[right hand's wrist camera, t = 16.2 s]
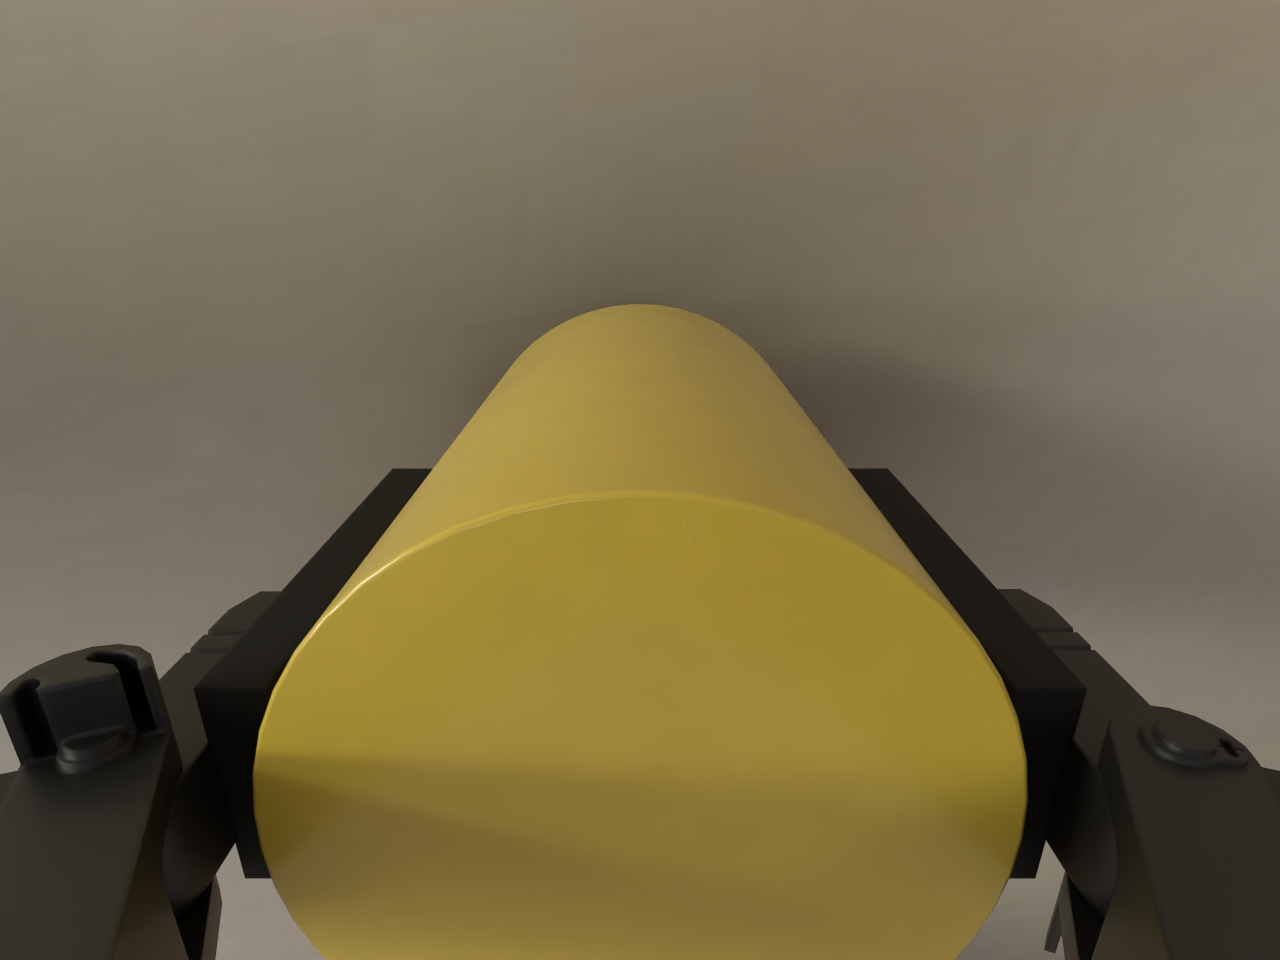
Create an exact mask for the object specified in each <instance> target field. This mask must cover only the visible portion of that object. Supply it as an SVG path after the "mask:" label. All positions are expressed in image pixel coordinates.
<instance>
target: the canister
mask: <svg viewBox="0 0 1280 960" xmlns="http://www.w3.org/2000/svg"><path fill="white" fill-rule="evenodd" d="M253 800H254V816H255V821H256V826H257V831H258V836H259V841H260V846H261V851H262V854H263V856H264V859H265V862H266V864H267V867H268V870H269V872H270V875H271V878H272V880H273V883H274V886H275V888H276V889H277V891H278V893H279V895H280V897H281V898H282V900H283V902H284V904H285V906H286V907H287V909H288V911H289V913H290V914H291V916H292V918H293V920H294V921H295V922H296V924H297V925H298V926H299V928H300V929H301V930H302V932H303V933H304V934H305V936H306V937H307V938H308V940H309V941H310V942H311V943H312V945H313V946H314V947H315V949H316V950H317V951H318V952H319V953H320V954H321V955H322V956H323V957H324V958H325V959H326V960H955V959H956V958H957V956H958V955H959V954H960V953H961V952H962V951H963V950H964V949H965V948H966V947H967V945H968V944H969V943H970V942H971V941H972V940H973V938H974V937H975V935H976V934H977V933H978V931H979V930H980V928H981V927H982V925H983V924H984V922H985V921H986V920H987V918H988V917H989V915H990V914H991V912H992V911H993V909H994V908H995V906H996V904H997V902H998V900H999V898H1000V896H1001V894H1002V892H1003V890H1004V888H1005V886H1006V884H1007V882H1008V880H1009V878H1010V876H1011V873H1012V869H1013V866H1014V863H1015V860H1016V857H1017V854H1018V851H1019V847H1020V844H1021V841H1022V837H1023V830H1024V823H1025V816H1026V809H1027V802H1028V791H1027V761H1026V754H1025V749H1024V745H1023V740H1022V735H1021V730H1020V726H1019V721H1018V717H1017V714H1016V712H1015V709H1014V707H1013V704H1012V702H1011V699H1010V697H1009V694H1008V692H1007V690H1006V687H1005V685H1004V682H1003V680H1002V677H1001V676H1000V674H999V672H998V671H997V669H996V668H995V666H994V664H993V663H992V661H991V660H990V658H989V656H988V655H987V653H986V652H985V650H984V648H983V647H982V645H981V643H980V642H979V640H978V639H977V637H976V636H975V635H974V633H973V632H972V631H971V630H970V628H969V627H968V626H967V624H966V623H965V622H964V620H963V619H962V618H961V616H960V615H959V614H958V612H957V611H956V610H955V609H954V607H953V606H952V605H951V603H950V602H949V601H948V599H947V598H946V597H945V595H944V594H943V593H942V592H941V590H940V589H939V588H938V586H937V585H936V584H935V582H934V581H933V580H932V578H931V577H930V576H929V574H928V573H927V572H926V571H925V569H924V568H923V567H922V565H921V564H920V563H919V561H918V560H917V559H916V557H915V556H914V555H913V554H912V552H911V551H910V550H909V548H908V547H907V546H906V544H905V543H904V542H903V540H902V539H901V538H900V536H899V535H898V534H897V533H896V531H895V530H894V529H893V527H892V526H891V525H890V523H889V522H888V521H887V519H886V518H885V517H884V516H883V514H882V513H881V512H880V510H879V509H878V508H877V506H876V505H875V504H874V502H873V501H872V500H871V498H870V497H869V496H868V495H867V493H866V492H865V491H864V489H863V488H862V487H861V485H860V484H859V483H858V481H857V480H856V479H855V478H854V476H853V475H852V474H851V472H850V471H849V470H848V468H847V467H846V466H845V464H844V463H843V462H842V460H841V459H840V458H839V457H838V455H837V454H836V453H835V451H834V450H833V449H832V447H831V446H830V445H829V443H828V442H827V441H826V440H825V438H824V437H823V436H822V434H821V433H820V432H819V430H818V429H817V428H816V426H815V425H814V424H813V422H812V421H811V420H810V419H809V417H808V416H807V415H806V413H805V412H804V411H803V409H802V408H801V407H800V405H799V404H798V403H797V402H796V400H795V399H794V398H793V396H792V395H791V394H790V392H789V391H788V390H787V388H786V387H785V386H784V384H783V383H782V382H781V381H780V379H779V378H778V377H777V375H776V374H775V373H774V371H773V370H772V369H771V368H770V366H769V365H768V364H767V363H766V362H765V361H764V359H763V358H762V357H761V356H760V355H759V354H758V352H757V351H756V350H754V349H753V348H752V347H751V346H750V345H749V344H748V343H746V342H745V341H744V340H743V339H742V338H741V337H739V336H738V335H736V334H735V333H733V332H732V331H730V330H729V329H727V328H726V327H724V326H723V325H721V324H718V323H716V322H714V321H712V320H710V319H708V318H706V317H704V316H701V315H698V314H695V313H692V312H689V311H686V310H683V309H679V308H673V307H668V306H662V305H649V304H630V305H619V306H611V307H607V308H603V309H598V310H594V311H590V312H588V313H585V314H582V315H580V316H577V317H574V318H572V319H570V320H568V321H566V322H564V323H562V324H560V325H558V326H556V327H555V328H553V329H551V330H550V331H548V332H547V333H546V334H544V335H543V336H541V337H540V338H539V339H537V340H536V341H535V342H533V343H532V344H531V345H530V346H529V347H528V348H527V349H526V350H525V351H524V352H523V353H522V354H521V355H520V356H519V357H518V358H517V359H516V361H515V362H514V363H513V365H512V366H511V367H510V368H509V370H508V371H507V372H506V373H505V375H504V376H503V377H502V379H501V380H500V381H499V383H498V384H497V385H496V387H495V388H494V389H493V391H492V392H491V393H490V394H489V396H488V397H487V398H486V400H485V401H484V402H483V404H482V405H481V406H480V408H479V409H478V410H477V412H476V413H475V414H474V416H473V417H472V418H471V419H470V421H469V422H468V423H467V425H466V426H465V427H464V429H463V430H462V431H461V433H460V434H459V435H458V437H457V438H456V439H455V441H454V442H453V443H452V444H451V446H450V447H449V448H448V450H447V451H446V452H445V454H444V455H443V456H442V458H441V459H440V460H439V462H438V463H437V464H436V466H435V467H434V468H433V469H432V471H431V472H430V473H429V475H428V476H427V477H426V479H425V480H424V481H423V483H422V484H421V485H420V487H419V488H418V489H417V490H416V492H415V493H414V494H413V496H412V497H411V498H410V500H409V501H408V502H407V504H406V505H405V506H404V508H403V509H402V510H401V512H400V513H399V514H398V515H397V517H396V518H395V519H394V521H393V522H392V523H391V525H390V526H389V527H388V529H387V530H386V531H385V533H384V534H383V535H382V537H381V538H380V539H379V540H378V542H377V543H376V544H375V546H374V547H373V548H372V550H371V551H370V552H369V554H368V555H367V556H366V558H365V559H364V560H363V561H362V563H361V564H360V565H359V567H358V568H357V569H356V571H355V572H354V573H353V575H352V576H351V577H350V579H349V580H348V581H347V583H346V584H345V585H344V586H343V588H342V589H341V590H340V592H339V593H338V594H337V596H336V597H335V598H334V600H333V601H332V602H331V604H330V605H329V606H328V608H327V609H326V610H325V611H324V613H323V614H322V615H321V617H320V618H319V619H318V621H317V622H316V623H315V625H314V626H313V627H312V629H311V630H310V631H309V633H308V634H307V635H306V636H305V638H304V639H303V640H302V642H301V643H300V644H299V646H298V647H297V648H296V650H295V651H294V653H293V654H292V656H291V658H290V660H289V662H288V664H287V665H286V667H285V669H284V671H283V673H282V675H281V676H280V678H279V680H278V682H277V684H276V685H275V687H274V689H273V691H272V694H271V697H270V700H269V703H268V706H267V709H266V712H265V715H264V718H263V721H262V724H261V727H260V730H259V735H258V742H257V748H256V755H255V761H254V768H253Z"/></svg>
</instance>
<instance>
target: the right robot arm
mask: <svg viewBox="0 0 1280 960" xmlns="http://www.w3.org/2000/svg"><path fill="white" fill-rule="evenodd" d="M848 470H849V471H850V472H851V474H852V475H853V476H854V478H855V479H856V480H857V481H858V483H859V484H860V485H861V487H862V488H863V489H864V491H865V492H866V493H867V495H868V496H869V497H870V498H871V500H872V501H873V502H874V504H875V505H876V506H877V508H878V509H879V510H880V512H881V513H882V514H883V516H884V517H885V518H886V519H887V521H888V522H889V523H890V525H891V526H892V527H893V529H894V530H895V531H896V533H897V534H898V535H899V536H900V538H901V539H902V540H903V542H904V543H905V544H906V546H907V547H908V548H909V550H910V551H911V552H912V554H913V555H914V556H915V557H916V559H917V560H918V561H919V563H920V564H921V565H922V567H923V568H924V569H925V571H926V572H927V573H928V574H929V576H930V577H931V578H932V580H933V581H934V582H935V584H936V585H937V586H938V588H939V589H940V590H941V592H942V593H943V594H944V595H945V597H946V598H947V599H948V601H949V602H950V603H951V605H952V606H953V607H954V609H955V610H956V611H957V612H958V614H959V615H960V616H961V618H962V619H963V620H964V622H965V623H966V624H967V626H968V627H969V628H970V630H971V631H972V632H973V633H974V635H975V636H976V637H977V639H978V640H979V642H980V643H981V645H982V647H983V648H984V650H985V652H986V653H987V655H988V656H989V658H990V660H991V661H992V663H993V664H994V666H995V668H996V669H997V671H998V672H999V674H1000V676H1001V677H1002V680H1003V682H1004V685H1005V687H1006V690H1007V692H1008V694H1009V697H1010V699H1011V702H1012V704H1013V707H1014V709H1015V712H1016V714H1017V717H1018V721H1019V726H1020V730H1021V735H1022V740H1023V745H1024V749H1025V754H1026V761H1027V791H1028V802H1027V809H1026V816H1025V823H1024V830H1023V837H1022V841H1021V844H1020V847H1019V851H1018V854H1017V857H1016V860H1015V863H1014V866H1013V869H1012V873H1011V876H1010V878H1035V877H1036V874H1037V870H1038V866H1039V863H1040V859H1041V856H1042V852H1043V848H1044V845H1045V841H1047V842H1048V844H1049V846H1050V847H1051V849H1052V850H1053V852H1054V853H1055V855H1056V857H1057V858H1058V860H1059V861H1060V863H1061V865H1062V866H1063V868H1064V869H1065V874H1064V877H1063V881H1062V884H1061V888H1060V891H1059V894H1058V898H1057V901H1056V905H1055V908H1054V911H1053V915H1052V918H1051V922H1050V925H1049V928H1048V932H1047V936H1046V942H1045V948H1044V950H1046V951H1049V952H1052V953H1055V952H1056V949H1057V945H1058V942H1059V939H1060V937H1061V936H1062V939H1063V947H1064V955H1065V960H1280V771H1277V770H1272V769H1267V768H1263V767H1261V766H1260V764H1259V763H1258V761H1257V760H1256V759H1255V758H1254V756H1253V755H1252V754H1251V753H1250V752H1249V750H1248V749H1247V748H1246V747H1245V746H1244V745H1243V744H1242V743H1240V742H1239V741H1237V740H1236V739H1235V738H1233V737H1232V736H1231V735H1229V734H1228V733H1226V732H1225V731H1224V730H1222V729H1220V728H1218V727H1216V726H1214V725H1212V724H1210V723H1208V722H1206V721H1204V720H1202V719H1200V718H1198V717H1196V716H1193V715H1189V714H1186V713H1183V712H1180V711H1176V710H1173V709H1170V708H1165V707H1157V706H1150V705H1149V704H1148V703H1147V702H1146V701H1145V700H1144V699H1143V698H1142V697H1141V696H1140V695H1139V694H1138V693H1137V692H1136V691H1135V690H1134V689H1133V688H1132V687H1131V686H1130V685H1129V684H1128V683H1127V682H1126V681H1125V680H1124V679H1123V678H1122V677H1121V676H1120V675H1119V674H1118V673H1117V672H1116V671H1115V670H1114V669H1113V668H1112V667H1111V666H1110V665H1109V664H1108V663H1107V662H1106V661H1105V660H1104V659H1103V658H1102V657H1101V656H1100V655H1099V654H1098V653H1097V652H1096V651H1095V650H1091V646H1090V645H1089V644H1088V643H1087V642H1086V641H1085V640H1084V639H1083V638H1082V637H1081V636H1080V635H1079V634H1078V633H1077V632H1073V628H1072V627H1071V626H1070V625H1069V624H1068V623H1067V622H1066V621H1065V620H1064V619H1063V618H1062V617H1061V616H1060V615H1059V614H1058V613H1057V612H1056V611H1055V610H1054V609H1053V608H1052V607H1051V606H1049V605H1047V604H1045V603H1044V602H1042V601H1040V600H1038V599H1037V598H1035V597H1033V596H1031V595H1030V594H1028V593H1026V592H1024V591H1023V590H1021V589H996V587H995V586H994V585H993V584H992V583H991V582H990V581H989V580H988V579H987V578H986V576H985V575H984V574H983V573H982V572H981V571H980V570H979V569H978V568H977V567H976V565H975V564H974V563H973V562H972V561H971V560H970V559H969V558H968V557H967V556H966V554H965V553H964V552H963V551H962V550H961V549H960V548H959V547H958V546H957V545H956V543H955V542H954V541H953V540H952V539H951V538H950V537H949V536H948V535H947V533H946V532H945V531H944V530H943V529H942V528H941V527H940V526H939V525H938V524H937V522H936V521H935V520H934V519H933V518H932V517H931V516H930V515H929V514H928V513H927V511H926V510H925V509H924V508H923V507H922V506H921V505H920V504H919V503H918V502H917V500H916V499H915V498H914V497H913V496H912V495H911V494H910V493H909V492H908V491H907V489H906V488H905V487H904V486H903V485H902V484H901V483H900V482H899V481H898V480H897V478H896V477H895V476H894V475H893V474H892V473H891V472H890V471H889V470H888V469H848ZM431 471H432V469H392V470H391V471H390V472H389V473H388V475H387V476H386V477H385V478H384V479H383V480H382V481H381V482H380V483H379V484H378V486H377V487H376V488H375V489H374V490H373V491H372V492H371V493H370V494H369V495H368V497H367V498H366V499H365V500H364V501H363V502H362V503H361V504H360V505H359V506H358V508H357V509H356V510H355V511H354V512H353V513H352V514H351V515H350V516H349V518H348V519H347V520H346V521H345V522H344V523H343V524H342V525H341V526H340V527H339V529H338V530H337V531H336V532H335V533H334V534H333V535H332V536H331V537H330V538H329V540H328V541H327V542H326V543H325V544H324V545H323V546H322V547H321V548H320V549H319V551H318V552H317V553H316V554H315V555H314V556H313V557H312V558H311V559H310V560H309V562H308V563H307V564H306V565H305V566H304V567H303V568H302V569H301V570H300V571H299V573H298V574H297V575H296V576H295V577H294V578H293V579H292V580H291V581H290V583H289V584H288V585H287V586H286V587H285V588H284V589H283V590H282V591H281V592H259V593H257V594H256V595H254V596H252V597H250V598H249V599H247V600H245V601H243V602H242V603H240V604H238V605H236V606H235V607H233V608H231V609H229V610H228V611H227V612H226V613H225V614H224V615H223V616H222V617H221V618H220V619H219V620H218V621H217V622H216V623H215V624H214V625H213V626H212V627H211V628H210V629H209V630H208V635H203V636H202V637H201V638H200V639H199V640H198V641H197V642H196V643H195V645H194V646H193V647H192V648H191V651H190V653H186V654H185V655H184V656H183V657H182V658H181V659H180V660H179V661H178V662H177V663H176V664H175V665H174V666H173V667H172V668H171V669H170V670H169V671H168V672H167V673H166V674H165V675H164V676H163V677H162V678H161V679H160V680H158V677H157V673H156V670H155V667H154V663H153V660H152V656H151V654H150V653H148V652H147V651H145V650H144V649H142V648H141V647H138V646H130V645H122V644H115V645H106V646H96V647H90V648H87V649H83V650H79V651H75V652H72V653H68V654H64V655H61V656H59V657H57V658H54V659H52V660H50V661H47V662H45V663H43V664H40V665H38V666H35V667H33V668H32V669H30V670H29V671H27V672H26V673H24V674H22V675H21V676H19V677H18V678H16V679H14V680H13V681H11V682H10V683H9V684H8V685H7V686H6V687H5V688H4V689H3V690H2V691H1V692H0V713H1V716H2V718H3V721H4V723H5V726H6V728H7V731H8V733H9V736H10V738H11V741H12V743H13V746H14V748H15V751H16V753H17V756H18V758H19V761H20V763H21V766H20V768H19V770H18V771H14V772H10V773H5V774H0V960H215V957H216V949H217V941H218V933H219V925H220V917H221V908H222V900H221V893H220V888H219V884H218V881H217V877H216V872H217V871H218V869H219V868H220V866H221V864H222V863H223V861H224V860H225V858H226V857H227V855H228V853H229V852H230V850H231V849H232V847H233V845H234V844H235V843H236V846H237V850H238V854H239V857H240V861H241V865H242V868H243V872H244V875H245V878H271V875H270V872H269V870H268V867H267V864H266V862H265V859H264V856H263V854H262V851H261V846H260V841H259V836H258V831H257V826H256V821H255V816H254V800H253V768H254V761H255V755H256V748H257V742H258V735H259V730H260V727H261V724H262V721H263V718H264V715H265V712H266V709H267V706H268V703H269V700H270V697H271V694H272V691H273V689H274V687H275V685H276V684H277V682H278V680H279V678H280V676H281V675H282V673H283V671H284V669H285V667H286V665H287V664H288V662H289V660H290V658H291V656H292V654H293V653H294V651H295V650H296V648H297V647H298V646H299V644H300V643H301V642H302V640H303V639H304V638H305V636H306V635H307V634H308V633H309V631H310V630H311V629H312V627H313V626H314V625H315V623H316V622H317V621H318V619H319V618H320V617H321V615H322V614H323V613H324V611H325V610H326V609H327V608H328V606H329V605H330V604H331V602H332V601H333V600H334V598H335V597H336V596H337V594H338V593H339V592H340V590H341V589H342V588H343V586H344V585H345V584H346V583H347V581H348V580H349V579H350V577H351V576H352V575H353V573H354V572H355V571H356V569H357V568H358V567H359V565H360V564H361V563H362V561H363V560H364V559H365V558H366V556H367V555H368V554H369V552H370V551H371V550H372V548H373V547H374V546H375V544H376V543H377V542H378V540H379V539H380V538H381V537H382V535H383V534H384V533H385V531H386V530H387V529H388V527H389V526H390V525H391V523H392V522H393V521H394V519H395V518H396V517H397V515H398V514H399V513H400V512H401V510H402V509H403V508H404V506H405V505H406V504H407V502H408V501H409V500H410V498H411V497H412V496H413V494H414V493H415V492H416V490H417V489H418V488H419V487H420V485H421V484H422V483H423V481H424V480H425V479H426V477H427V476H428V475H429V473H430V472H431Z"/></svg>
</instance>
